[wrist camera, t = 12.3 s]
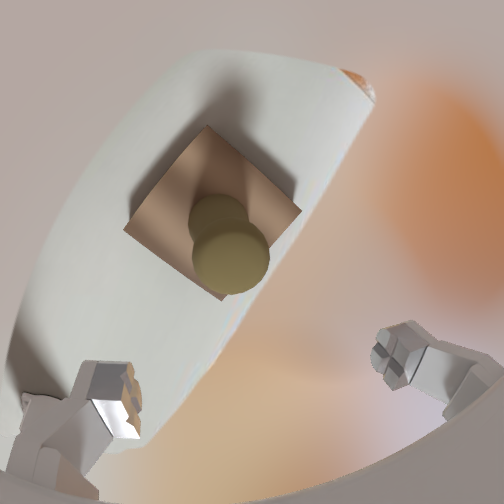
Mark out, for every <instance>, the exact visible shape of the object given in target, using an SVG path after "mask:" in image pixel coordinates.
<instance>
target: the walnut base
mask: <svg viewBox="0 0 504 504" xmlns="http://www.w3.org/2000/svg"><path fill="white" fill-rule="evenodd" d="M213 194H225V195H229V196H231V197H233V198H235V199H237V200H238V201H239V202H240V203H241V204H242V205H243V206H244V208H245V210H246V213H247V215H248V218H249V222H251V223H253V224H254V225H255V226H256V227H257V228H258V229H259V230H260V231H261V232H262V233H263V234H264V236H265V238H266V240H267V243H268V245H269V248H270V247H271V246H272V244H273V243H274V242H275V241H276V240H277V239H278V238H279V237H280V235H281V234H282V233H283V232H284V231H285V230H286V229H287V228H288V226H289V225H290V224H291V223H292V222H293V221H294V220H295V218H296V217H297V216H298V215H299V214H300V213H301V212H302V210H301V209H300V208H299V207H297V206H296V205H295V204H294V203H293V202H292V201H291V200H290V199H289V198H288V197H287V196H286V195H285V194H284V193H283V192H282V191H281V190H280V189H279V188H278V187H277V186H276V185H274V184H273V183H272V182H271V181H270V180H269V179H268V178H267V177H266V176H265V175H264V174H263V173H262V172H260V171H259V170H258V169H257V168H256V167H255V166H254V165H253V164H252V163H250V162H249V161H248V160H247V159H246V158H245V157H244V156H243V155H241V154H240V153H239V152H238V151H237V150H236V149H235V148H234V147H232V146H231V145H230V144H229V143H228V142H227V141H225V140H224V139H223V138H222V137H221V136H220V135H218V134H217V133H216V132H215V131H214V130H212V129H211V128H210V127H209V126H208V125H207V126H206V127H205V128H204V129H203V130H202V131H201V132H200V133H199V134H198V135H197V137H196V138H195V139H194V140H193V141H192V142H191V143H190V144H189V146H188V147H187V148H186V149H185V150H184V151H183V152H182V154H181V155H180V156H179V157H178V158H177V159H176V161H175V162H174V163H173V164H172V165H171V167H170V168H169V169H168V170H167V172H166V173H165V174H164V175H163V177H162V178H161V179H160V180H159V182H158V183H157V184H156V185H155V187H154V188H153V189H152V191H151V192H150V193H149V195H148V196H147V197H146V198H145V200H144V201H143V203H142V204H141V205H140V207H139V208H138V209H137V211H136V212H135V213H134V215H133V216H132V218H131V219H130V221H129V222H128V223H127V225H126V226H125V228H124V229H123V230H124V231H125V232H126V233H128V234H129V235H130V236H132V237H133V238H134V239H136V240H137V241H138V242H139V243H141V244H142V245H143V246H145V247H146V248H147V249H149V250H150V251H151V252H153V253H154V254H155V255H157V256H158V257H159V258H161V259H162V260H164V261H165V262H166V263H168V264H169V265H170V266H172V267H173V268H175V269H176V270H177V271H179V272H180V273H181V274H183V275H184V276H186V277H187V278H189V279H190V280H191V281H193V282H194V283H196V284H197V285H198V286H200V287H201V288H203V289H204V290H206V291H207V292H209V293H210V294H212V295H213V296H214V297H216V298H217V299H219V300H220V301H222V300H223V299H224V298H225V297H226V296H227V295H228V294H220V293H218V292H215V291H213V290H210V289H209V288H208V287H207V286H206V285H204V284H203V283H202V282H201V281H200V279H199V277H198V276H197V274H196V273H195V271H194V267H193V263H192V251H193V244H194V242H193V240H192V238H191V236H190V234H189V229H188V219H189V215H190V213H191V211H192V209H193V207H194V206H195V205H196V204H197V203H198V202H199V201H200V200H201V199H203V198H205V197H207V196H209V195H213Z"/></svg>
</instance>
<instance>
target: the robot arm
mask: <svg viewBox="0 0 504 504" xmlns="http://www.w3.org/2000/svg"><path fill="white" fill-rule="evenodd" d="M376 341H377V344H376V345H375V346H374V347H373V348H372V352H371V355H370V356H371V363H372V366H373V368H374V369H375V370H376V372H378V373H381V374H383V380H384V381H385V382H386V384H387V385H388V386H389V387H390V388H391V390H392V391H394V390H397V389H399V388H402V387H404V386H407V385H409V384H410V386H412V387H414V388H416V389H418V390H420V391H422V392H424V393H426V394H428V395H429V396H431V397H434V398H435V399H437V400H439V401H441V402H443V403H445V404H447V407H446V408H445V410H444V411H443V415H442V416H443V417H444V418H445V419H446V420H447V422H446V423H444V424H443V425H441V426H440V427H438V428H437V429H435V430H434V431H432V432H431V433H429V434H427V435H426V436H424V437H423V438H421V439H419V440H418V441H416V442H414V443H413V444H411V445H409V446H407V447H405V448H404V449H402V450H400V451H398V452H396V453H394V454H392V455H390V456H388V457H386V458H384V459H383V460H380V461H378V462H376V463H374V464H372V465H369V466H367V467H365V468H363V469H360V470H358V471H355V472H353V473H351V474H348V475H345V476H343V477H340V478H337V479H335V480H332V481H329V482H326V483H323V484H320V485H317V486H314V487H310V488H307V489H303V490H300V491H296V492H292V493H288V494H284V495H280V496H275V497H271V498H266V499H260V500H255V501H249V502H242V503H235V504H504V368H503V367H502V366H501V365H500V364H499V363H498V362H496V361H495V360H494V359H493V358H492V357H490V356H489V355H488V354H485V353H482V352H478V351H475V350H472V349H468V348H465V347H462V346H458V345H455V344H452V343H448V342H445V341H438V340H437V339H436V338H435V337H433V336H432V335H431V334H430V333H428V332H427V331H426V330H425V329H424V328H423V327H421V326H420V325H419V324H418V323H416V322H415V321H413V320H409V321H406V322H403V323H400V324H397V325H393V326H390V327H386V328H382V329H380V330H379V332H378V333H377V337H376ZM134 372H135V371H134V368H133V365H132V363H131V362H120V361H93V360H85V361H83V362H82V364H81V367H80V369H79V372H78V375H77V377H76V380H75V383H74V386H73V389H72V392H71V395H70V398H67V397H65V398H64V399H63V400H59V399H56V398H53V397H50V396H45V395H32V394H29V393H25V392H24V393H23V394H22V405H23V413H24V415H23V419H22V422H21V425H20V428H19V429H20V431H21V433H20V434H19V435H17V436H16V438H15V441H14V444H13V447H12V450H11V454H10V458H9V461H8V464H7V468H6V472H4V471H2V470H0V504H117V503H110V502H103V501H99V490H98V489H97V488H96V487H95V486H94V485H93V484H92V483H91V482H90V481H88V480H87V479H86V478H85V475H86V474H87V473H88V472H89V470H90V469H91V468H92V466H93V465H94V464H95V463H96V461H97V460H98V459H99V457H100V456H101V455H102V453H103V452H104V451H105V450H106V448H107V447H108V446H109V444H110V443H111V442H112V441H113V438H140V426H141V421H140V418H139V416H138V413H139V412H140V411H141V410H142V395H141V390H140V386H139V383H138V381H137V380H135V379H134Z"/></svg>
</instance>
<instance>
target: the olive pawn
mask: <svg viewBox="0 0 504 504" xmlns="http://www.w3.org/2000/svg"><path fill="white" fill-rule="evenodd" d="M188 229H189V234H190V236H191V238H192V240H193V242H194V244H193V251H192V263H193V267H194V271H195V273H196V274H197V276H198V277H199V279H200V281H201V282H202V283H203V284H204V285H206V286H207V287H208V288H209V289H210V290H213V291H215V292H218V293H220V294H229V295H233V294H238V293H243V292H245V291H247V290H249V289H251V288H253V287H254V286H255V285H257V284H258V283H259V282H260V281H261V280H262V278H263V277H264V275H265V273H266V272H267V270H268V265H269V261H270V255H269V245H268V243H267V240H266V238H265V236H264V234H263V233H262V232H261V231H260V230H259V229H258V228H257V227H256V226H255V225H254V224H253V223H251V222H249V218H248V215H247V213H246V210H245V208H244V206H243V205H242V204H241V203H240V202H239V201H238V200H237V199H235V198H233V197H231V196H229V195H225V194H213V195H209V196H207V197H205V198H203V199H201V200H200V201H199V202H198V203H197V204H196V205H195V206H194V207H193V209H192V211H191V213H190V215H189V219H188Z"/></svg>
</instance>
